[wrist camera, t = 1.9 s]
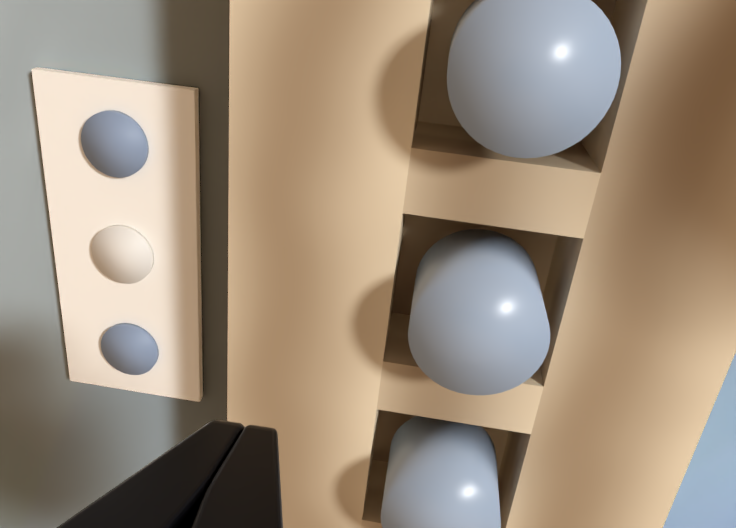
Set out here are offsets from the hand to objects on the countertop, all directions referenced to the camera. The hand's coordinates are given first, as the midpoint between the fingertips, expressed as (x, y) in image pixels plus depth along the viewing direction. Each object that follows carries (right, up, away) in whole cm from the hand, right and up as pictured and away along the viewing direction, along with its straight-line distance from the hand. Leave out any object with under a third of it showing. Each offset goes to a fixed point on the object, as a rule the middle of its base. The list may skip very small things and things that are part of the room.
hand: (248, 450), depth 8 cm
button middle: (+4, +2, +8) cm, 9 cm away
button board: (+4, +3, +10) cm, 11 cm away
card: (-6, +3, +11) cm, 13 cm away
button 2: (+4, -3, +10) cm, 11 cm away
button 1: (+5, +7, +5) cm, 10 cm away
